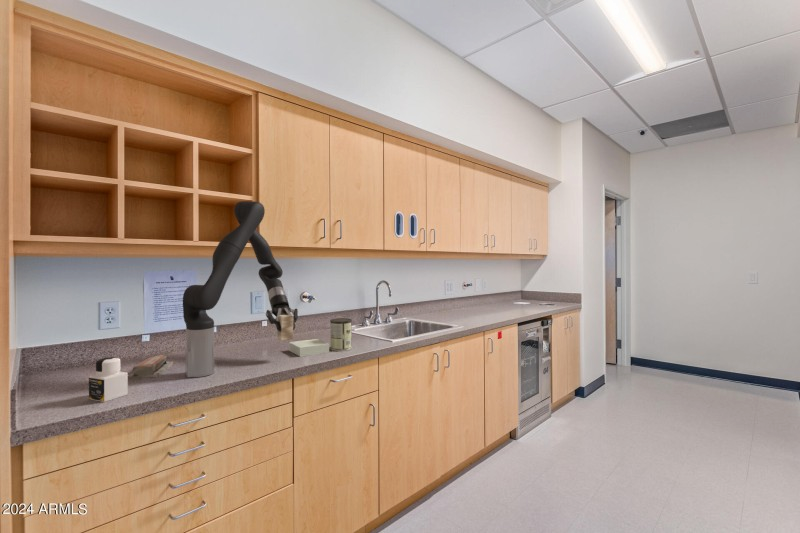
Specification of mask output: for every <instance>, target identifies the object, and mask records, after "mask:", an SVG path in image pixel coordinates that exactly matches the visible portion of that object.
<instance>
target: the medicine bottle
mask: <svg viewBox="0 0 800 533" xmlns="http://www.w3.org/2000/svg"><path fill="white" fill-rule="evenodd" d="M128 376H129V374H128V372H124V371H121V359H120V357H119V358H118V357H116V356H114V357H113V356H112V357H111V356H110V357H104V358H100V359H98V360H97V361H96V362H95V374H92V375H89V377H88V399H89V400H91V401H96V402H102V403H106V402H110V401H113V400H116V399H119V398H122V397H125V396H127V395H128V394H129V393H128V392H129V390H128V386H129V385H128V384H129V382H128V380H129V379H128Z"/></svg>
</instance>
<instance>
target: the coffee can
mask: <svg viewBox="0 0 800 533" xmlns="http://www.w3.org/2000/svg"><path fill="white" fill-rule="evenodd" d="M352 321H353V319H352V318H345V317H342V318H341V317H340V318H331V319H330V320H329V322H330V347H329V350H331V351H333V350H334V351H335V352H345V351H350V350H351V349H352V348H353V345H352V342H353V341H352ZM334 351H333V352H334Z"/></svg>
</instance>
